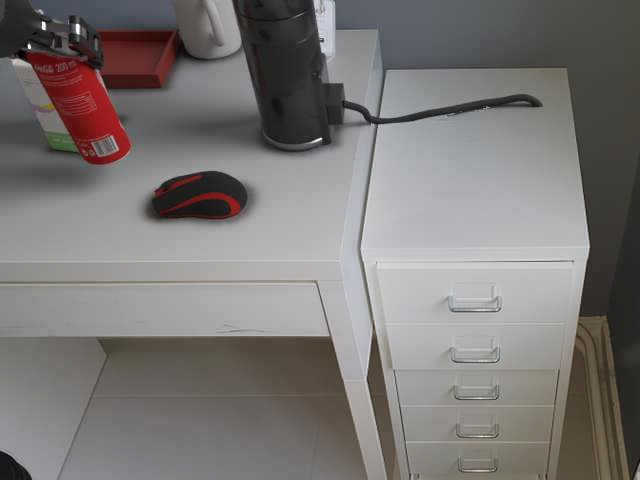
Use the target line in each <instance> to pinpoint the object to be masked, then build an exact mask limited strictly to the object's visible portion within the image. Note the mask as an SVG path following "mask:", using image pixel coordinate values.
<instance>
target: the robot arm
mask: <svg viewBox="0 0 640 480" xmlns="http://www.w3.org/2000/svg"><path fill="white" fill-rule="evenodd" d="M232 4H233V8H234V12H235V17H236V21H237V25H238V28H239V32H240V36H241V45H242V47H243V52H244V56H245V60H246V65H247V68H248V69H247V70H248V73H249V78H250V81H251V85H252V89H253V93H254V97H255V101H256V106H257V110H258V114H259V118H260V119H259V120H260V123H261V124H260V125H261V128H262V129H261V130H262V134H263V137H264V139H265V141H266V142H267V143H268V144H269V145H270V146H272V147H274V148H276V149H279V150H284V151H290V152H291V151H294V152H295V151H296V152H297V151H305V150H311V149H314V148H316V147H319V146H321V145H325V144H332V142H333V135H334V132H335V126H339V125H341V126H343V125H344V120H345V119H344V118H345V112H346V110H351V111H354V112H358V113H360V114H361V115H362V116H363V119H364V120H365V121H366V122H367V123H370V124H374V125H388V124H391V125H392V124H399V123H400V124H401V123H410V122H416V121H419V120H424V119H428V118H434V117H441V116H447V115H452V114H457V113H462V112H466V111H471V110H475V109H481V108H487V107H494V106H495V107H496V106H503V105H508V104H513V103H518V102H525V103H529V104H531V105H533V106H534V107H535V108H542V107H544V104H543V103H542V102H541V100H540V99H539V98H537V97H535V96H533V95H531V94H527V93H515V94H511V95H507V96H502V97H493V98H486V99H480V100H474V101H469V102H464V103H460V104H456V105H451V106H449V105H448V106H445V107H438V108H432V109H426V110H422V111H418V112H414V113H410V114H406V115H401V116H396V117H379V116H374V115H372V114H371V113H370V110H369V109H368V108H366V107H365V106H364V105H362V104H359V103H356V102H353V101H348V100H346V93H345V85H344V83H343V82H330V77H329V76H330V75H329V70H328V63H327V57H326V54H325V53H324V52H323V51H322V45H321V39H320V32H319V27H318V26H319V25H318V20H317V13H316V7H315V1H314V0H232ZM67 17H68V20H67V23H65V22H63V21H61V20H57V19H55V18H52V17H50V16H48V15H46V14H44V15H43V14H41V13H40V12H39V11H38V10H37V9H35V8H34V7H33V6H32V4H31V3H30V1H29V0H0V59H4V58H8V59H10V60H11V59H21V60H23V61H25V62H27V63H29V64H30V62H29V60H28V59H27V57H26V51H27V52H30V53H36V52H38V53H41V54H44V55H47V56H51V57H54V58H57V59H61V58H67V57H69V58H72V59H75V60H78V61H79V62H81V63H83V64H85V65H87V66H89V67H91V68H93V69H94V70H102V66H104V52H103V51H102V50H101V35H100V34H99V33H98V32H97V31H95V30H96V29H95V28H93V27H92V26H91V25H90V24H89V23H88V22H87V21H86V20H85V19H83V18H82V17H81V16H79V15H76V14H74V15H71V14H70V15H67ZM53 41H54V49H53V48H50V47H51V46H52V44H53ZM69 46H74V51H73V50H70V49H69Z"/></svg>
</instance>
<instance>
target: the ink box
mask: <svg viewBox="0 0 640 480" xmlns="http://www.w3.org/2000/svg"><path fill="white" fill-rule="evenodd" d="M37 11H39V12H40V13H41V14H43V15H45V14H44V12H43V10H42V9H38V10H37ZM10 62H11V64H12V65H11V66H12V68H13V70H14V72H15V74H16V77H17V78H18V80H19V83H20V85H21V86H22V89H23V91H24V93H25V95H26V96H27V99H28V101H29V103H30V105H31V107H32V109H33V111H34V113H35V115H36V117H37V119H38V121H39V123H40V126H41V128H42V129H43V132H44V133H45V136H46V138H47V140H48V142H49V144H50V146H51V148H52V149H53V150H59V151H66V152H73V153H74V152H75V153H80V152H79V151H78V149H77V147H76V145H75V143H74V142H73V140H72V138H71V136H70V134H69V133H68V131H67V129H66V127H65V125H64V124H63V122H62V120H61V118H60V116H59V115H58V113H57V111H56V109H55V107H54V106H53V104H52V102H51V100H50V98H49V97H48V95H47V93H46V91H45V89H44V88H43V86H42V84H41V82H40V80H39V79H38V77H37V75H36V73H35V71H34V70H33V68H32V66H31V64H29V63H27V62H25V61H23V60H21V59H10ZM96 72H97V74H98V76H99V78H100V80H101V82H102V84H103V87H104V89H105V91H106V93H107V95H108V97H109V99H110V101H111V98H110V95H109V93H108V91H107V88H105V85H104V83H103V80H102V78H101V75H100V73H99V70H96ZM111 102H112V101H111Z"/></svg>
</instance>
